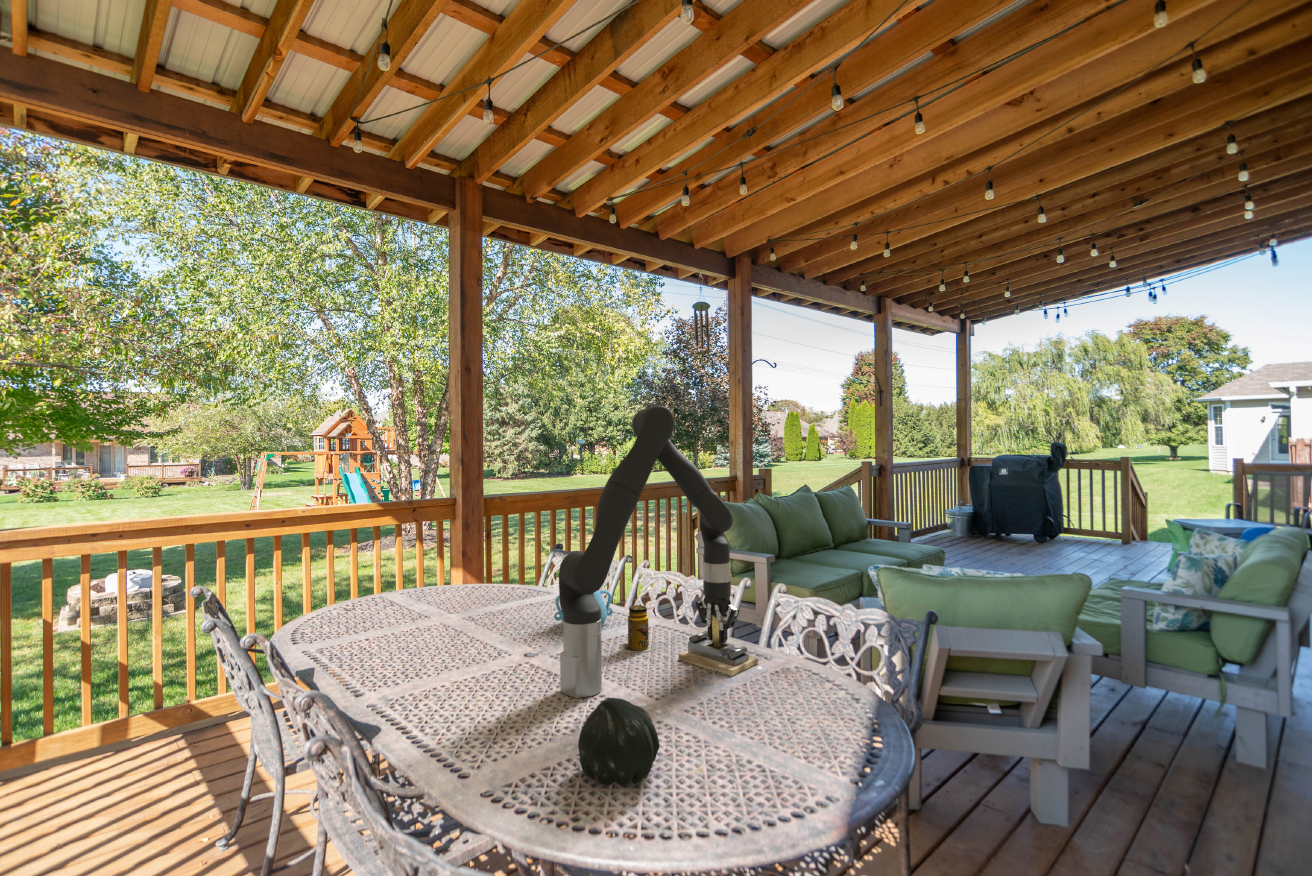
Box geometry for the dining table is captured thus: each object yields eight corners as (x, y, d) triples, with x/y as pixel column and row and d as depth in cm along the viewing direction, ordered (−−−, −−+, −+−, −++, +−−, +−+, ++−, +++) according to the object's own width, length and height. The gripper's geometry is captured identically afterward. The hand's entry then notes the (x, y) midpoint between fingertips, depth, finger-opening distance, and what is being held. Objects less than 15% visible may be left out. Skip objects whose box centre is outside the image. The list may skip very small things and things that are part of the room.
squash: (670, 723, 118) (618, 668, 117) (676, 767, 103) (616, 704, 102) (616, 773, 118) (564, 717, 117) (614, 824, 103) (554, 761, 102)
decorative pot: (550, 620, 207) (549, 580, 207) (606, 615, 213) (605, 576, 213) (558, 638, 188) (558, 594, 188) (620, 631, 194) (619, 589, 194)
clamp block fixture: (731, 676, 156) (731, 651, 156) (678, 659, 168) (678, 636, 168) (758, 663, 164) (757, 640, 164) (705, 648, 177) (705, 627, 177)
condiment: (651, 651, 175) (650, 609, 175) (621, 653, 174) (621, 611, 174) (648, 643, 182) (647, 603, 182) (620, 644, 181) (619, 604, 181)
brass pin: (718, 651, 164) (718, 618, 164) (709, 649, 166) (709, 616, 166) (726, 648, 166) (725, 615, 166) (716, 646, 169) (716, 613, 169)
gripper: (688, 576, 168) (689, 639, 168) (729, 584, 159) (730, 650, 159) (705, 572, 174) (706, 633, 174) (746, 579, 164) (746, 643, 164)
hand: (717, 641), depth 166 cm, fingers closed on brass pin, 3 cm apart
